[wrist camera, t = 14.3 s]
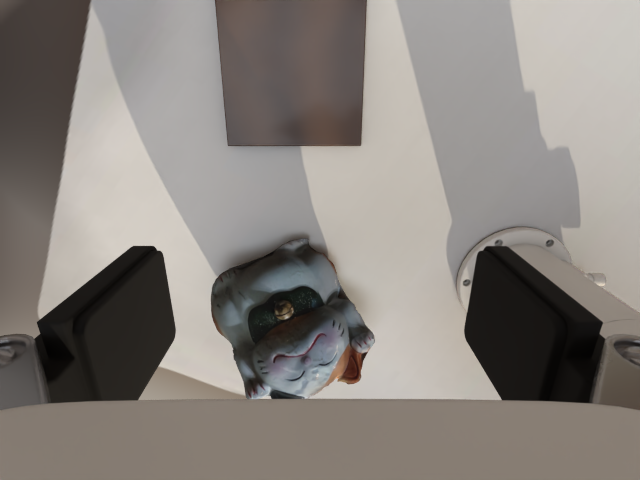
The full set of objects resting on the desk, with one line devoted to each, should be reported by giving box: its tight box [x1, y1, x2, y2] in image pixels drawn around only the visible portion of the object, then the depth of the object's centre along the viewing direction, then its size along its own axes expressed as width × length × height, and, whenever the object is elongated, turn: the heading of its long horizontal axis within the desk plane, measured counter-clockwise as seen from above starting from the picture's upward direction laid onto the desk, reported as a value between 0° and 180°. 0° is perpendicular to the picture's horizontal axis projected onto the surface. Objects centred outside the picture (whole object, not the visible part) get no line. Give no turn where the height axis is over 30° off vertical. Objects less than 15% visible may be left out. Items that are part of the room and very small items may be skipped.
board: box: [215, 0, 367, 146], centre depth 33 cm, size 13×21×1 cm, turn 0°
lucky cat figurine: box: [211, 238, 375, 399], centre depth 38 cm, size 15×12×14 cm
